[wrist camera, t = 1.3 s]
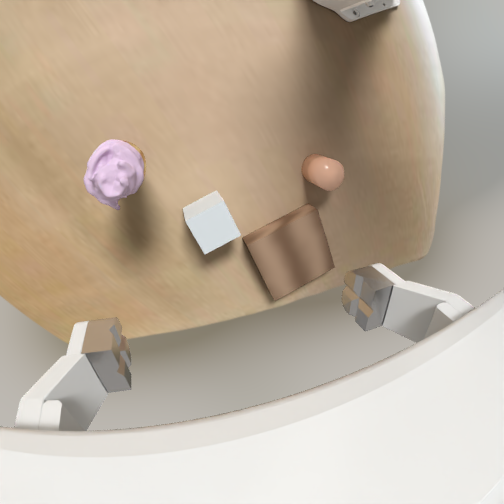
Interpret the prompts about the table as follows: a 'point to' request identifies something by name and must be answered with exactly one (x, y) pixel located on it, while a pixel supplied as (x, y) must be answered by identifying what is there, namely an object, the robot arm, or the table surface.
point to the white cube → (210, 222)
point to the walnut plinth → (290, 251)
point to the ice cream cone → (115, 171)
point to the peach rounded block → (323, 171)
